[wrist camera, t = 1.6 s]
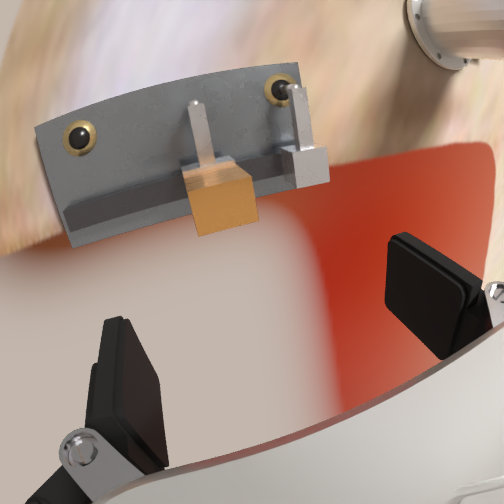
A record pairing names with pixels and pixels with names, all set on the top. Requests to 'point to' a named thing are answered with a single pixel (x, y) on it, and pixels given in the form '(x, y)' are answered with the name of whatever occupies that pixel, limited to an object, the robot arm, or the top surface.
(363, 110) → the top surface
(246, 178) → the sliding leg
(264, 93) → the base
